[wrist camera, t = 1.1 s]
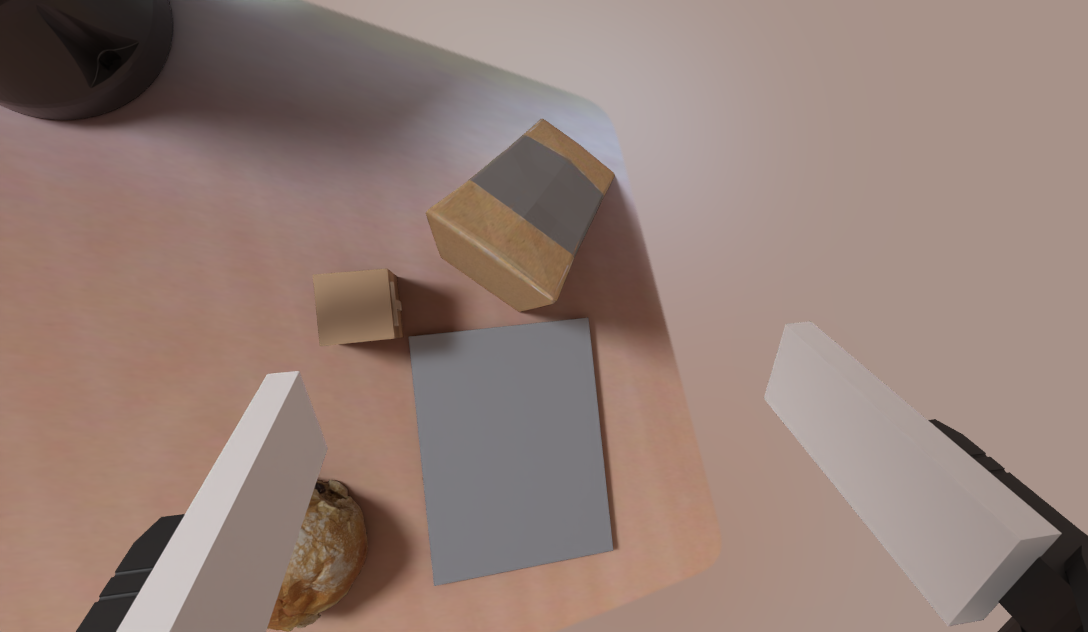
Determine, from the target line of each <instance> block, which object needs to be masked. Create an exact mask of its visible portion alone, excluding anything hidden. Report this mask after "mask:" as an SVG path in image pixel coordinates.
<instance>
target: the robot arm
mask: <svg viewBox="0 0 1088 632" xmlns="http://www.w3.org/2000/svg"><path fill="white" fill-rule="evenodd" d="M172 33H173V22H172V13H171V8H170V4H169V1H168V0H0V105H1V106H3V107H5V108H8V109H10V110H13V111H16V112H19V113H22V114H25V115H29V116H34V117H39V118H45V119H56V120H70V119H81V118H88V117H93V116H97V115H101V114H104V113H107V112H110V111H112V110H115V109H117V108H119V107H121V106H123V105H125V104H126V103H128V102H130V101H131V100H133V99H134V98H136V97H137V96H138V95H140V94H141V93H142V92H143V91H144V90H145V89H146V88H147V87H148V86H149V85H150V84H151V83H152V82H153V81H154V79H155V78H156V77H157V75H158V74H159V72H160V71H161V69H162V67H163V65H164V63H165V61H166V59H167V56H168V53H169V50H170V46H171V41H172ZM764 399H765V400H766V401H767V403H768V404H769V405H770V406H771V408H772V409H773V410H774V411H775V413H776V414H777V415H778V416H779V418H780V419H781V420H782V421H783V423H784V424H785V425H786V426H787V427H788V429H789V430H790V431H791V432H792V434H793V435H794V436H795V437H796V439H797V440H798V441H799V442H800V444H801V445H802V446H803V447H804V448H805V450H806V451H807V452H808V454H809V455H810V456H811V457H812V459H813V460H814V461H815V462H816V463H817V465H818V466H819V467H820V468H821V470H822V471H823V472H824V473H825V475H826V476H827V477H828V478H829V480H830V481H831V482H832V483H833V484H834V486H835V487H836V488H837V490H838V491H839V492H840V493H841V494H842V496H843V497H844V498H845V499H846V501H847V502H848V503H849V504H850V506H851V507H852V508H853V509H854V511H855V512H856V513H857V514H858V516H859V517H860V518H861V519H862V520H863V522H864V523H865V524H866V525H867V527H868V528H869V529H870V530H871V531H872V533H873V534H874V535H875V536H876V538H877V539H878V540H879V542H880V543H881V544H882V545H883V546H884V548H885V549H886V550H887V551H888V553H889V554H890V555H891V556H892V558H893V559H894V560H895V561H896V563H897V564H898V565H899V566H900V567H901V569H902V570H903V571H904V573H905V574H906V575H907V576H908V578H909V579H910V580H911V581H912V583H913V584H914V585H915V586H916V587H917V589H918V590H919V591H920V592H921V594H922V595H923V596H924V597H925V599H926V600H927V601H928V602H929V604H930V605H931V606H932V607H933V608H934V610H935V611H936V612H937V614H938V615H939V616H940V617H941V618H942V620H943V621H944V622H945V623H946V625H947V626H953V625H958V624H964V623H969V622H975V621H981V620H984V618H986V616H987V615H988V614H989V613H990V612H991V611H992V610H993V609H994V608H995V606H996V605H997V604H998V603H1000V604H1001V605H1002V606H1003V607H1004V608H1005V609H1006V610H1007V612H1008V613H1009V614H1010V615H1011V616H1012V617H1011V618H1010V619H1009V621H1007V622H1006V624H1005V625H1004V626H1003V627H1002V628H1001V629H1000V630H999V631H998V632H1088V536H1087V535H1086V534H1085V533H1083V532H1082V531H1081V530H1080V529H1078V528H1077V527H1076V526H1075V525H1073V524H1072V523H1071V522H1070V521H1068V520H1067V519H1066V518H1065V517H1063V516H1062V515H1061V514H1060V513H1059V512H1057V511H1056V510H1055V509H1054V508H1053V507H1051V506H1050V505H1049V504H1048V503H1046V502H1045V501H1044V500H1043V499H1041V498H1040V497H1039V496H1038V495H1037V494H1035V493H1034V492H1033V491H1032V490H1030V489H1029V488H1028V487H1027V486H1026V485H1024V484H1023V483H1022V482H1020V481H1019V480H1018V479H1017V478H1016V477H1014V476H1013V475H1012V474H1011V473H1006V472H1005V470H1004V468H1003V467H1002V466H1001V465H1000V464H998V463H997V462H996V461H995V460H994V459H992V458H991V457H987V456H986V455H985V454H986V453H985V452H984V451H983V450H981V449H980V448H979V447H978V446H976V445H975V444H974V443H973V442H971V441H970V440H969V439H968V438H967V437H965V436H964V435H963V434H961V433H959V432H957V431H956V430H954V429H952V428H950V427H948V426H946V425H944V424H943V423H941V422H939V421H937V420H935V419H934V420H927V419H926V418H925V417H924V416H922V415H921V414H920V413H919V412H917V411H916V410H915V409H914V408H913V407H912V406H911V405H909V404H908V403H907V402H906V401H904V400H903V399H902V398H901V397H900V396H899V395H898V394H896V393H895V392H894V391H893V390H892V389H890V388H889V387H888V386H887V385H886V384H885V383H883V382H882V381H881V380H880V379H879V378H877V377H876V376H875V375H874V374H873V373H871V372H870V371H869V370H868V369H867V368H866V367H864V366H863V365H862V364H861V363H860V362H858V361H857V360H856V359H855V358H854V357H852V356H851V355H850V354H849V353H848V352H847V351H845V350H844V349H843V348H842V347H841V346H839V345H838V344H837V343H836V342H835V341H833V340H832V339H831V338H830V337H829V336H827V334H825V333H824V332H823V331H822V330H820V329H819V328H818V327H817V326H816V325H815V324H813V323H812V322H811V321H810V322H800V323H790V324H786V325H785V329H784V332H783V335H782V339H781V342H780V345H779V349H778V352H777V356H776V359H775V362H774V366H773V369H772V373H771V376H770V380H769V383H768V386H767V390H766V393H765V396H764ZM327 449H328V447H327V445H326V442H325V439H324V437H323V434H322V431H321V428H320V426H319V423H318V420H317V418H316V415H315V412H314V409H313V407H312V404H311V401H310V399H309V396H308V393H307V391H306V388H305V385H304V382H303V380H302V377H301V374H300V372H299V371H294V372H283V373H273V374H267V375H266V377H265V379H264V381H263V382H262V384H261V386H260V387H259V389H258V391H257V392H256V394H255V396H254V398H253V399H252V401H251V403H250V404H249V406H248V408H247V410H246V411H245V413H244V415H243V416H242V418H241V420H240V421H239V423H238V425H237V427H236V428H235V430H234V432H233V433H232V435H231V437H230V439H229V440H228V442H227V444H226V445H225V447H224V449H223V450H222V452H221V454H220V456H219V457H218V459H217V461H216V462H215V464H214V466H213V467H212V469H211V471H210V473H209V474H208V476H207V478H206V479H205V481H204V483H203V485H202V486H201V488H200V490H199V491H198V493H197V495H196V496H195V498H194V500H193V502H192V503H191V505H190V507H189V508H188V510H187V512H186V514H182V515H174V516H166V517H161V518H160V519H159V520H158V521H157V522H156V523H154V524H153V525H152V526H151V527H150V528H149V529H148V530H147V531H146V532H145V533H144V534H143V535H142V536H141V537H140V538H139V539H138V540H136V541H135V542H134V544H133V545H132V547H131V548H130V550H129V551H128V553H127V554H126V556H125V557H124V559H123V560H122V562H121V563H120V565H119V566H118V568H117V570H116V571H115V576H114V577H111V579H110V580H109V582H108V583H107V585H106V586H105V588H104V589H103V591H102V592H101V594H100V596H99V597H100V599H99V601H98V602H95V603H94V605H93V606H92V608H91V609H90V611H89V612H88V614H87V615H86V617H85V618H84V620H83V622H82V623H81V625H80V626H79V628H78V629H77V631H76V632H266V630H267V627H268V624H269V621H270V618H271V615H272V612H273V609H274V606H275V603H276V600H277V597H278V594H279V591H280V588H281V585H282V582H283V580H284V577H285V574H286V571H287V568H288V565H289V562H290V559H291V556H292V553H293V550H294V547H295V544H296V541H297V538H298V535H299V532H300V529H301V526H302V523H303V520H304V517H305V514H306V511H307V508H308V505H309V502H310V499H311V496H312V493H313V490H314V488H315V485H316V482H317V479H318V476H319V473H320V470H321V467H322V464H323V461H324V458H325V455H326V452H327Z"/></svg>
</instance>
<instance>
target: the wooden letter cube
mask: <svg viewBox="0 0 1088 632" xmlns="http://www.w3.org/2000/svg"><path fill="white" fill-rule="evenodd" d="M313 284H314V294H315V303H316V313H317V323H318V333H319V343H320V346H328V345H337V344H346V343H356V342H365V341H374V340H384V339H393V338H402V337H403V331H402V321H401V312H400V311H402V306H401V302H400V301H399V292H398V283H397V276H396V275H395V274H393V273H392V272H391V271H390V270H388V269H376V270H364V271H352V272H340V273H327V274H315V275H313Z"/></svg>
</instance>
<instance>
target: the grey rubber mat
mask: <svg viewBox="0 0 1088 632" xmlns="http://www.w3.org/2000/svg"><path fill="white" fill-rule="evenodd" d="M409 346H410V356H411V365H412V375H413V385H414V395H415V404H416V414H417V424H418V434H419V443H420V453H421V463H422V472H423V482H424V492H425V502H426V511H427V521H428V531H429V541H430V550H431V560H432V570H433V580H434V586H436V585H441V584H446V583H451V582H456V581H461V580H467V579H472V578H477V577H482V576H487V575H492V574H497V573H502V572H507V571H512V570H517V569H522V568H527V567H532V566H537V565H542V564H547V563H552V562H557V561H562V560H567V559H572V558H577V557H582V556H587V555H592V554H598V553H603V552H608V551H613V544H612V534H611V525H610V515H609V506H608V497H607V487H606V478H605V469H604V459H603V450H602V441H601V431H600V422H599V413H598V403H597V394H596V385H595V375H594V366H593V357H592V347H591V338H590V329H589V319H588V318H580V319H571V320H561V321H552V322H543V323H533V324H524V325H514V326H505V327H496V328H486V329H477V330H467V331H458V332H449V333H439V334H430V335H420V336H411V337H409Z"/></svg>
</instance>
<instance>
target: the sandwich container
mask: <svg viewBox="0 0 1088 632" xmlns="http://www.w3.org/2000/svg"><path fill="white" fill-rule="evenodd" d="M614 176H615V175H614V173H613V172H612V171H611V170H610V169H608V168H607V167H606V166H605V165H603V164H602V163H601V162H600V161H599V160H597V159H596V158H595V157H594V156H593V155H591V154H590V153H589V152H588V151H587V150H585V149H584V148H583V147H582V146H581V145H579V144H578V143H576V142H575V141H574V140H572V139H571V138H569V137H568V136H567V135H565V134H564V133H562V132H561V131H560V130H558V129H557V128H556V127H554V126H553V125H551V124H550V123H549V122H547V121H546V120H544V119H540V120H539V121H538V122H537V123H536V124H535V125H534V126H533V127H531V128H530V129H529V130H528V131H527V132H526V133H525V134H524V135H522V136H521V137H520V138H519V139H518V140H517V141H516V142H514V143H513V144H512V145H511V146H510V147H509V148H507V149H506V150H505V151H504V152H502V153H501V154H500V155H499V156H497V157H496V158H495V159H494V160H492V161H491V162H490V163H489V164H488V165H486V166H485V167H484V168H483V169H482V170H480V171H479V172H478V173H477V174H475V175H474V176H473V177H472V178H471V179H469V180H468V181H467V182H466V183H464V184H463V185H462V186H460V187H459V188H458V189H456V190H455V191H453V192H452V193H451V194H449V195H448V196H447V197H445V198H444V199H442V200H441V201H440V202H438V203H437V204H436V205H434V206H433V207H431V208H430V209H429V210H428V211H427V212H426V216H427V219H428V222H429V225H430V228H431V230H432V233H433V236H434V239H435V242H436V245H437V248H438V251H439V253H440V256H441V258H442V259H444V260H445V261H447V262H448V263H450V264H451V265H452V266H454V267H455V268H457V269H458V270H459V271H461V272H462V273H464V274H465V275H467V276H468V277H469V278H471V279H472V280H474V281H475V282H477V283H478V284H479V285H481V286H482V287H484V288H485V289H487V290H488V291H489V292H491V293H492V294H494V295H495V296H497V297H498V298H500V299H501V300H502V301H504V302H505V303H507V304H508V305H510V306H511V307H512V308H514V309H515V310H517V311H518V312H521V311H525V310H529V309H534V308H538V307H542V306H546V305H550V304H554V303H555V302H556V301H557V300H558V297H559V295H560V292H561V290H562V287H563V285H564V282H565V280H566V277H567V275H568V272H569V270H570V267H571V265H572V262H573V260H574V258H575V255H576V253H577V251H578V249H579V247H580V245H581V243H582V241H583V239H584V237H585V235H586V233H587V231H588V229H589V227H590V224H591V222H592V220H593V218H594V216H595V214H596V212H597V210H598V208H599V206H600V204H601V202H602V200H603V198H604V196H605V194H606V192H607V190H608V188H609V186H610V184H611V182H612V180H613V178H614Z"/></svg>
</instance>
